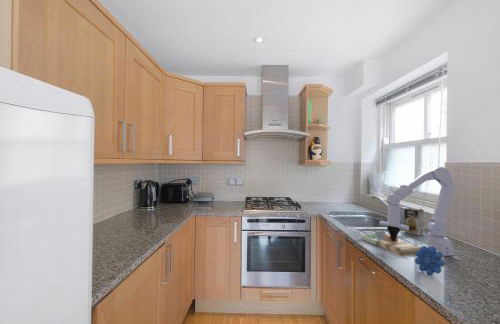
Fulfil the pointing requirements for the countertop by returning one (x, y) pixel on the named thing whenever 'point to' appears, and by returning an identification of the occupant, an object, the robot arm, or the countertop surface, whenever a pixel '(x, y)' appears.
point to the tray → (370, 238)
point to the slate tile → (380, 235)
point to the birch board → (399, 247)
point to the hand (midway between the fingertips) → (393, 240)
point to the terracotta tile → (389, 237)
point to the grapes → (429, 260)
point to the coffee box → (414, 221)
